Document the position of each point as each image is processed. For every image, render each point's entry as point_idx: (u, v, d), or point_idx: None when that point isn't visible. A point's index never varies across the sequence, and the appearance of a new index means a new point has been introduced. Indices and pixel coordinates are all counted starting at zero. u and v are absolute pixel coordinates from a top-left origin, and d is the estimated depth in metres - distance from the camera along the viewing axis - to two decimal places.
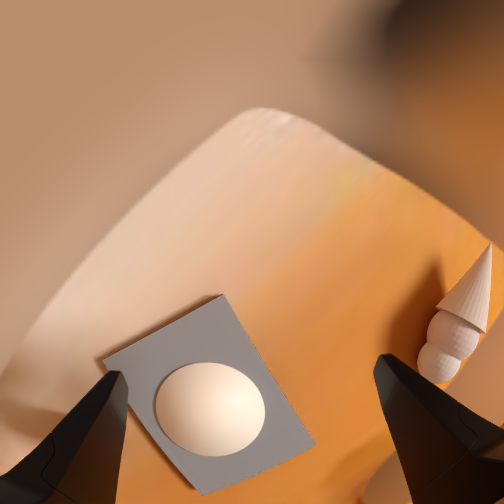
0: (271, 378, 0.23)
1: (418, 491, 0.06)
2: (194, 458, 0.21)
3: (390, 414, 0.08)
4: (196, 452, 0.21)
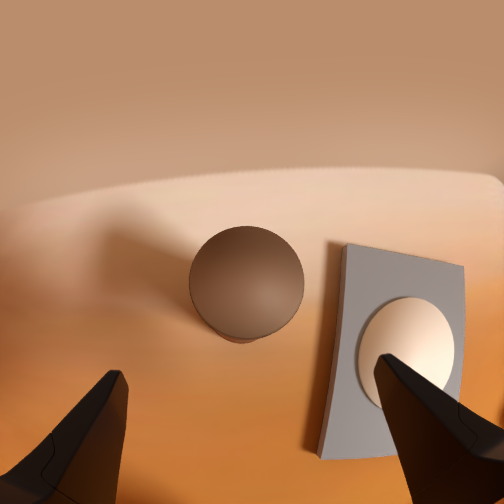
0: (462, 354, 0.19)
1: (418, 491, 0.06)
2: (359, 402, 0.18)
3: (390, 414, 0.08)
4: (371, 394, 0.18)
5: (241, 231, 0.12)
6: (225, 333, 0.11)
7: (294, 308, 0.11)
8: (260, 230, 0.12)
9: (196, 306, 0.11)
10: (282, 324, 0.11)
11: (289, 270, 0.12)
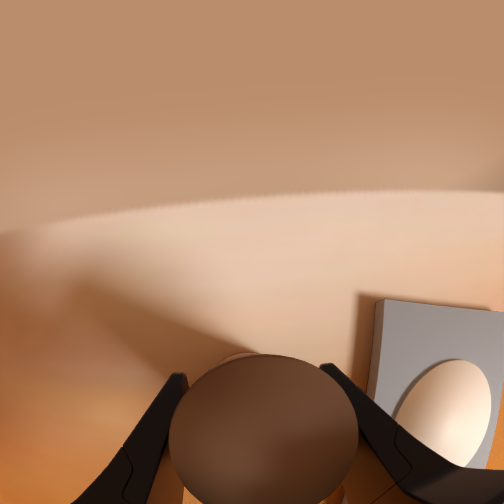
0: (497, 413, 0.13)
1: None
2: None
3: None
4: None
5: (256, 367, 0.06)
6: None
7: (339, 480, 0.05)
8: (290, 364, 0.06)
9: (184, 483, 0.05)
10: (319, 500, 0.05)
11: (336, 428, 0.06)
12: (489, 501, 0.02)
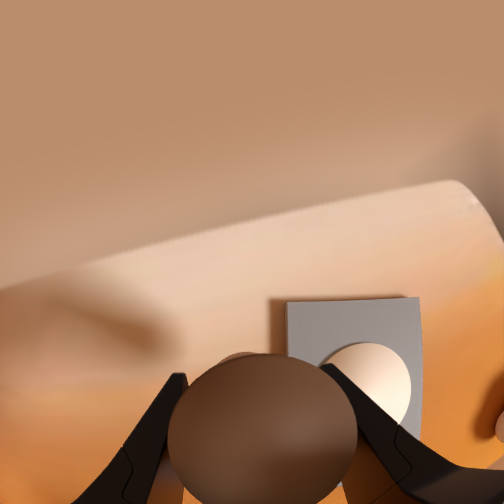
0: (421, 385, 0.21)
1: None
2: None
3: None
4: None
5: (254, 367, 0.06)
6: None
7: (338, 479, 0.05)
8: (289, 363, 0.06)
9: (183, 483, 0.05)
10: (318, 500, 0.05)
11: (335, 427, 0.06)
12: (489, 501, 0.02)
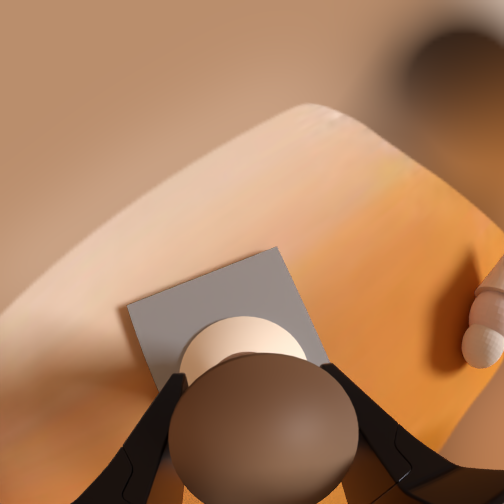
0: (320, 343, 0.20)
1: None
2: None
3: None
4: None
5: (255, 366, 0.06)
6: None
7: (339, 478, 0.05)
8: (290, 362, 0.06)
9: (184, 482, 0.05)
10: (319, 499, 0.05)
11: (336, 426, 0.06)
12: (489, 501, 0.02)
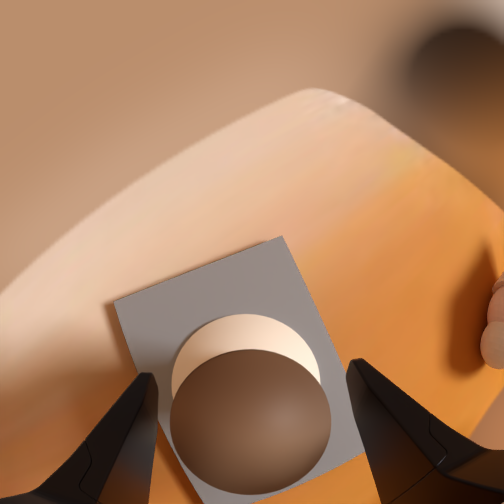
0: (331, 345, 0.18)
1: (389, 503, 0.06)
2: None
3: (361, 422, 0.08)
4: None
5: (241, 359, 0.08)
6: (222, 488, 0.06)
7: (315, 460, 0.07)
8: (270, 356, 0.08)
9: (182, 459, 0.07)
10: (298, 479, 0.06)
11: (311, 413, 0.07)
12: None
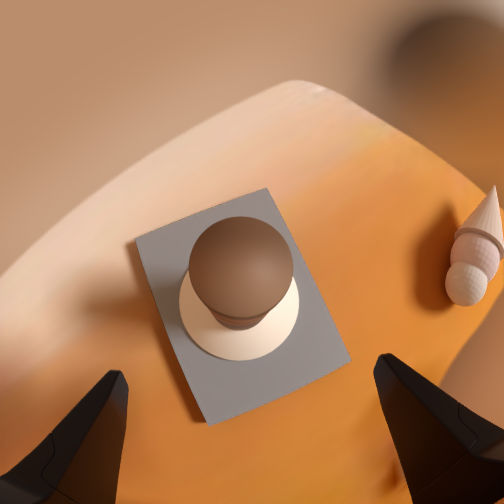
0: (307, 269, 0.23)
1: (418, 491, 0.06)
2: (210, 364, 0.21)
3: (390, 414, 0.08)
4: (214, 352, 0.21)
5: (235, 221, 0.13)
6: (221, 313, 0.12)
7: (284, 289, 0.12)
8: (252, 220, 0.13)
9: (195, 289, 0.12)
10: (273, 304, 0.12)
11: (279, 255, 0.13)
12: None
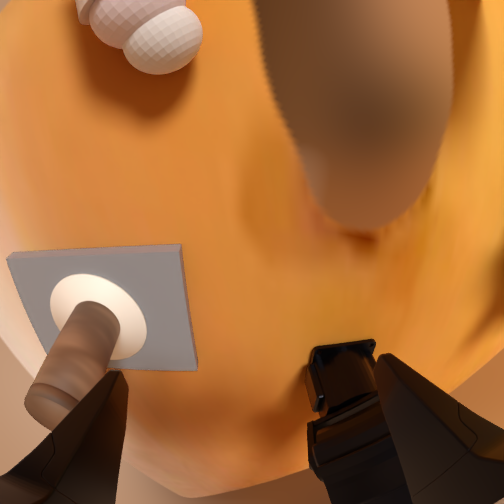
0: (75, 257, 0.19)
1: (418, 491, 0.06)
2: (145, 354, 0.24)
3: (390, 414, 0.08)
4: (135, 351, 0.23)
5: (28, 409, 0.12)
6: None
7: None
8: (25, 403, 0.12)
9: None
10: None
11: (45, 405, 0.12)
12: None
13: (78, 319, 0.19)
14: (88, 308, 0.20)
